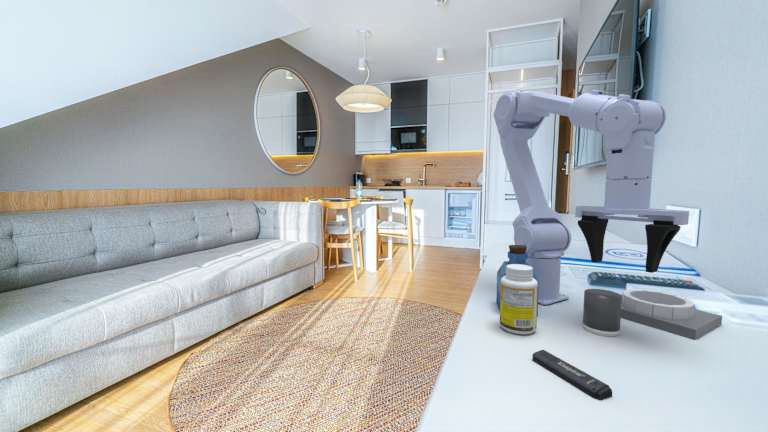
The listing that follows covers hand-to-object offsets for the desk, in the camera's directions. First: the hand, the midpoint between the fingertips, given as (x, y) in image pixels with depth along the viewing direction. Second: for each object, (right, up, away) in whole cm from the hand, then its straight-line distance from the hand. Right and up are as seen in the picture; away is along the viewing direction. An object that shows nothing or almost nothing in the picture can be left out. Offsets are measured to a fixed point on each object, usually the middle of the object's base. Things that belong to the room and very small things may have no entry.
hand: (622, 266), depth 52 cm
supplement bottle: (-16, -11, +1) cm, 19 cm away
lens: (-3, -10, +1) cm, 11 cm away
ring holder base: (+10, -10, +6) cm, 16 cm away
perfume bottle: (-13, -10, +10) cm, 19 cm away
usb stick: (-15, -12, -12) cm, 23 cm away
